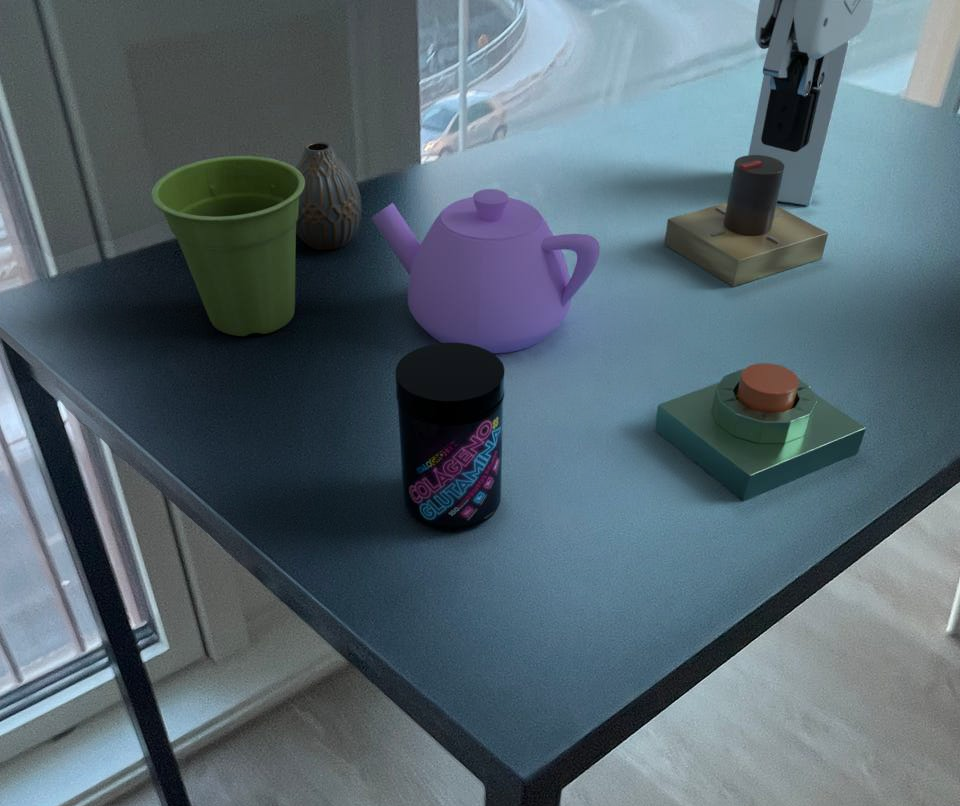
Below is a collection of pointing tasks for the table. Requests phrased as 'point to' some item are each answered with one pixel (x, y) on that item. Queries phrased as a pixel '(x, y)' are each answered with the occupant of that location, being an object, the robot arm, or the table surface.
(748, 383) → the push button
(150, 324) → the table surface
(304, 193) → the vase
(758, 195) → the dial
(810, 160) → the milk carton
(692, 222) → the dial panel
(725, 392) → the button housing
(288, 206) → the plant pot
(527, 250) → the teapot
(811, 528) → the table surface
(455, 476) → the supplement container
